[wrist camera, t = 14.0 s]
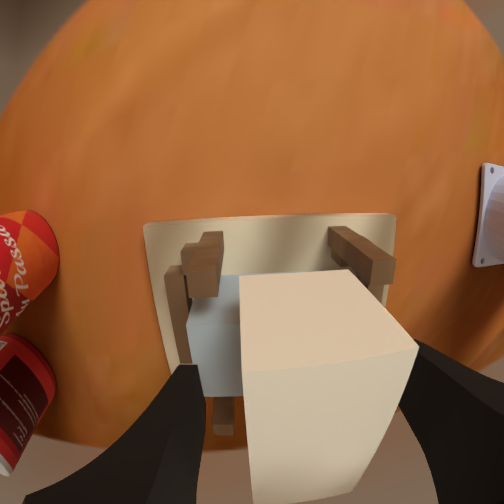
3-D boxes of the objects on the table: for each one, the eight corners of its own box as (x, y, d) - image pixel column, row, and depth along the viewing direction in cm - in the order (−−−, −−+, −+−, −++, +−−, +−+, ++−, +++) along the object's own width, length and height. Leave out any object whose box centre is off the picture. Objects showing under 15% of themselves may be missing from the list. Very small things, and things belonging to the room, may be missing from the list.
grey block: (344, 268, 16) (383, 311, 11) (338, 328, 17) (366, 381, 12) (200, 276, 15) (185, 325, 11) (207, 337, 17) (199, 396, 12)
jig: (388, 212, 16) (457, 242, 10) (369, 350, 19) (407, 411, 13) (148, 222, 15) (97, 260, 9) (173, 365, 18) (155, 437, 12)
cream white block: (326, 413, 13) (352, 491, 8) (248, 421, 12) (253, 506, 8) (348, 269, 10) (419, 346, 5) (239, 275, 10) (241, 371, 5)
